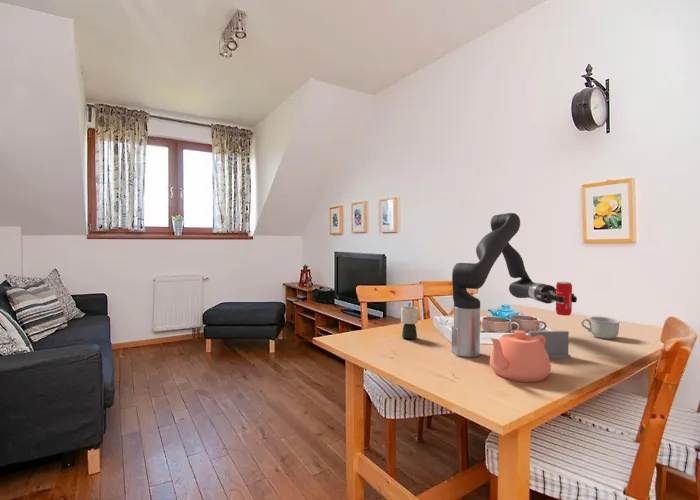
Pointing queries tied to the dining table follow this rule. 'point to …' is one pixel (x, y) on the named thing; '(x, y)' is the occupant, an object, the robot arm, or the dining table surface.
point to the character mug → (409, 321)
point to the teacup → (602, 327)
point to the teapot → (520, 357)
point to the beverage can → (566, 292)
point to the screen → (554, 342)
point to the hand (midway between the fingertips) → (569, 299)
